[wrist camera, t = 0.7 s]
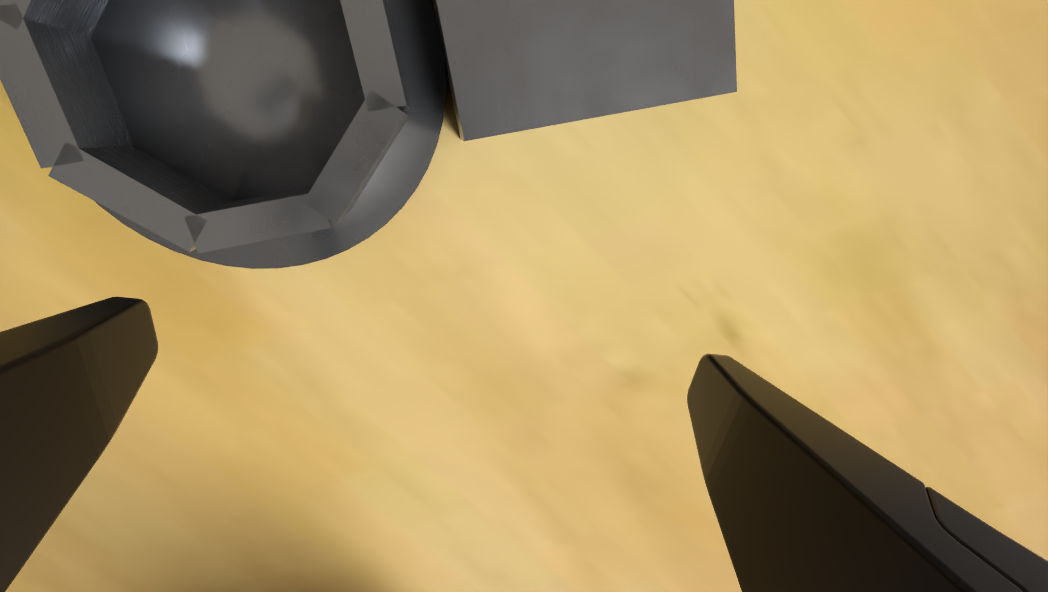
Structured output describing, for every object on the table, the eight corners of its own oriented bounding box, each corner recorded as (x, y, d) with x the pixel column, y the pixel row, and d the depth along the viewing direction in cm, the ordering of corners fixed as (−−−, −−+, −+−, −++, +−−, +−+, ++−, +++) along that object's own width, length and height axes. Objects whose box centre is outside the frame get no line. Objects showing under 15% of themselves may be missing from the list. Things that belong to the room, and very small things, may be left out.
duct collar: (127, 294, 21) (58, 331, 17) (-60, -131, 16) (-210, -210, 12) (702, 180, 23) (754, 191, 19) (680, -220, 18) (742, -310, 15)
